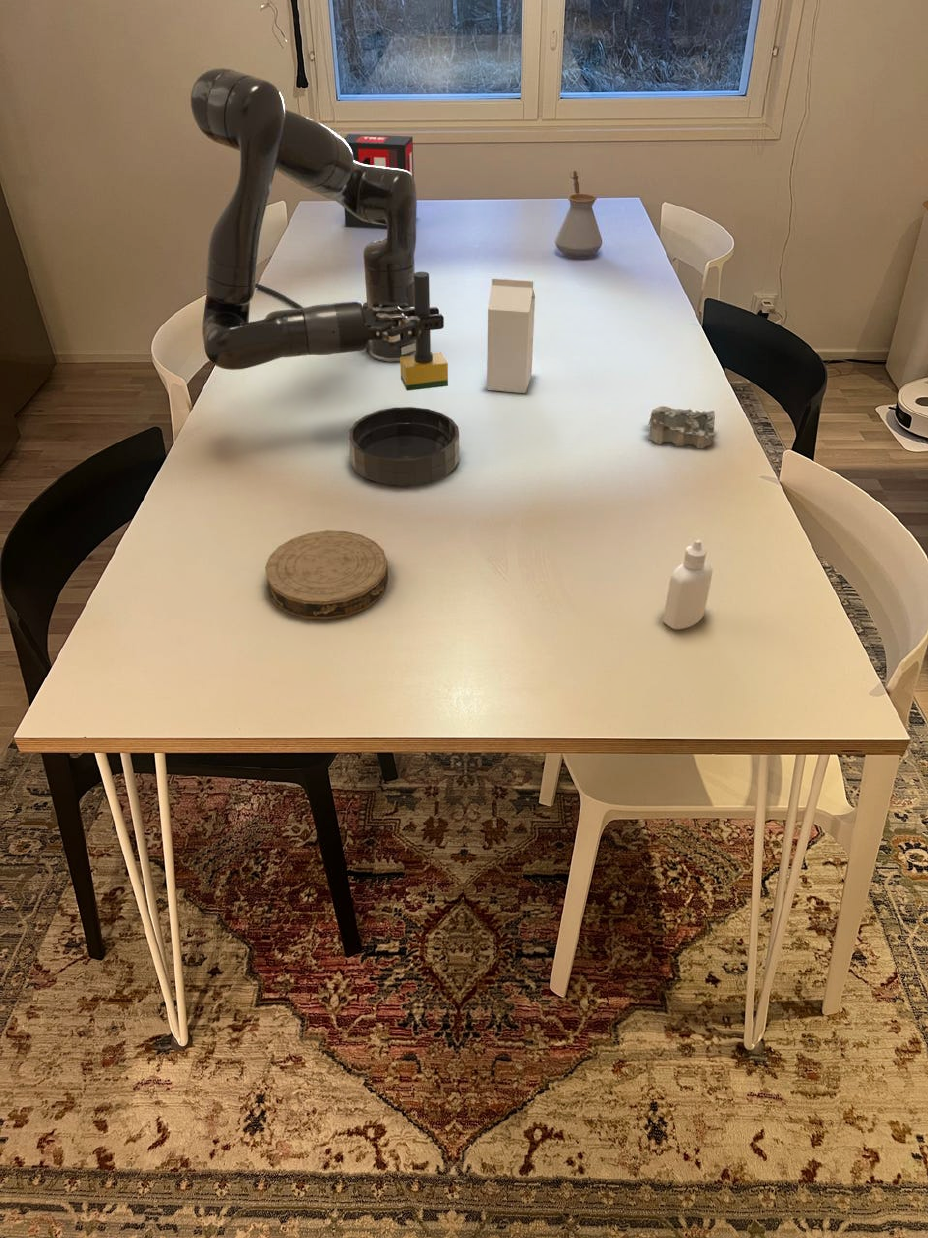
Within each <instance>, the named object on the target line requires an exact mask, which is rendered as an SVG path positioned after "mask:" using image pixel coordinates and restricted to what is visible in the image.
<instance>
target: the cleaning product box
mask: <svg viewBox="0 0 928 1238" xmlns="http://www.w3.org/2000/svg"><path fill="white" fill-rule="evenodd" d="M342 139H343V140H344V141H345V142H346V143H347V144H348V146H349V147H350V149H351V151H352V154H353V158H354V161H355V162H357V163H360V164H363V165H370V166H377V167H385V168H393V169H401V170H405V171H408V172H409V173H410V174H411V175H412V177H413V178H414V179H415V176H414V173H415V172H414V146H413V145H414V144H413V143H414V142H413V141H414V140H413V139H414V138H413V136H409V135H407V136H406V135H383V134H382V135H381V134H361V133H360V134H357V133H348V134H347V135H346V136H345V137H344V138H342ZM343 209H344V220H345V221H344V222H345V223H344V224H345V228H362V229H363V228H364V229H385V230H387V225H381V224H374V223H369V222H365V221H362V220H360V219H358V218H357V217H356V216H354V215H353V214H352V213H350V212H349V211H348V210H347V209H345V208H344V207H343Z"/></svg>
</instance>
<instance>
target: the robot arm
mask: <svg viewBox="0 0 928 1238" xmlns="http://www.w3.org/2000/svg"><path fill="white" fill-rule="evenodd" d="M190 109H191V113H192V117H193V119H194V122H195V123H196V125H197V127H198V128H199V130H200V131H201V132H202V133H203V134H204V135H205V136H206V137H207V138H208V139H209V140H211V141H213V142H214V143H216V144H220V145H223V146H225V147H228V148H231V149H233V150H236V151H239V173H238V179H237V183H236V186H235V189H234V190H233V193H232V194H231V197H230V199H229V200H228V203H226V206H225V207H224V209H223V210H222V211H221V213H220V215H219V216H218V218H217V220H216V222H215V223H214V225H213V227H212V229H211V233H210V236H209V241H208V247H207V261H206V282H205V283H206V296H205V300H204V301H205V302H204V307H203V308H204V309H203V317H202V331H201V333H202V334H201V335H202V341H203V348H204V352H205V355H206V357H207V359H208V360H209V362H211V364H212V365H214V366H215V367H217V368H220V369H223V370H230V371H237V370H239V371H240V370H245V369H249V368H254V367H256V366H260V365H263V364H266V363H270V362H272V361H274V360H278V359H282V358H294V357H303V356H327V355H337V354H346V353H355V352H363V351H365V353H367V354H369V355H370V356H371V357H372V358H373V359H375V360H378V361H382V362H390V363H391V362H397V363H398V362H400V357H403V356H412V355H414V354H415V353H416V339H418V338H419V334H420V333H421V331H426V330H430V331H436V330H442V329H443V328H444V326H445V321H444V320H445V317H444V316H443V315H442V314H441V313H440V310H439V308H438V307H437V306H430V315H425V316H420V317H419V316H415V301H414V273H416V271H415V269H416V267H415V252H416V246H417V245H416V244H417V215H418V214H417V211H418V209H417V208H418V196H417V194H418V193H417V185H416V181H415V177H414V178H413V177H412V175H411V174H410V173H409V172H408V171H405V170H401V169H393V168H385V167H377V166H370V165H363V164H360V163H357V162H355V161H354V158H353V154H352V151H351V149H350V147H349V146H348V144H347V143H346V142H345V141H344V140H343V139H344V138H342V136H340V135H339V134H337V133H336V132H334V131H333V130H331V129H330V128H329V127H326V126H325V125H324V124H321V123H320V122H317V121H315V120H314V119H312V118H309V117H307V116H304V115H303V114H299V113H297V112H294V111H291V110H288V109H286V108H285V103H284V98H283V96H282V94H281V92H280V90H279V89H278V88H277V86H275V84H273V83H271V82H270V81H268V80H265V79H262V78H260V77H255V76H253V75H250V74H247V73H245V72H244V73H243V72H240V71H237V70H234V69H232V68H231V69H230V68H225V67H220V68H219V67H218V68H212V69H209V70H207V71H205V72H204V73H202V74H201V75H200V76H198V78H197V79H196V81H195V82H194V84H193V86H192V89H191V92H190ZM275 171H277V172H279V173H280V174H282V175H283V176H284V177H286V178H288V179H290V180H291V181H292V182H294V183H296V184H297V185H299V186H301V187H303V188H305V189H306V190H309V191H310V192H312V193H315V194H317V195H320V196H322V197H323V198H326V199H329V200H332V201H335V202H336V203H337V204H339V205H340V206H341V207H343V209H344V208H345V209H347V210H348V211H349V212H350V213H352V214H353V215H354V216H356V217H357V218H358V219H360V220H362V221H365V222H369V223H374V224H381V225H387V229H386V230H387V231H386V237H385V238H381V239H377V240H374V241H372V242H370V243H367V244H366V245H365V247H364V248H363V266H364V267H363V268H364V281H365V294H366V297H365V299H366V301H365V302H363V304H362V303H361V302H360V301H358V300H353V301H344V302H343V301H342V302H333V303H322V304H314V305H310V306H307V307H303V306H302V305H300V304H299V303H297V302H296V301H294V300H293V299H291V298H289V297H287V296H286V295H284V294H282V293H280V292H279V291H276V290H274V289H272V288H269V287H267V286H265V285H262V284H259V283H256V278H257V269H258V268H257V267H258V266H257V264H258V255H259V246H260V245H259V243H260V237H261V231H262V226H263V220H264V218H265V212H266V208H267V204H268V200H269V197H270V192H271V188H272V186H273V182H274V181H273V180H274V176H275ZM255 289H258V290H260V291H263V292H264V293H265V292H266V293H268V294H270V295H273V296H274V297H276V298H278V299H280V300H282V301H283V302H285V303H287V304H288V305H290V306H292V307H293V308H292V309H282V310H275V311H271V312H269V313H268V314H266V316H265V317H264V319H260V320H255V321H250V309H251V308H250V307H251V301H252V300H253V298H254V296H255V295H254V294H255Z"/></svg>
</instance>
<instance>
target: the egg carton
mask: <svg viewBox="0 0 928 1238" xmlns="http://www.w3.org/2000/svg"><path fill="white" fill-rule="evenodd" d="M715 420H716V413H715V410H711V411H702V412H701V411H698V410H696V411H693V410H692V409H691V408H690V409H680V408H679V409H678V408H675V409H674V408H671V407H668V406H659V407H656V408H654V409H653V410H651V413H650V417H649V420H648V424H647V425H648V426H649V428H648V429H649V432H648V439H647V440H649V441H652V442H654V444H656V445H657V444H658V445H661V444H663V443H673V444H674V445H675V446H677V447H678V446H680V447H681V446H682V447H683V446H684V445H694V446H695V447H696V448H697V449H704V448H705V447H709V446H711V445H712V440H713V436H714V435H715V423H716V422H715Z"/></svg>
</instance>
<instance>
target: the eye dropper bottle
mask: <svg viewBox="0 0 928 1238" xmlns="http://www.w3.org/2000/svg"><path fill="white" fill-rule="evenodd" d="M706 558H707V549H706V548H704V546H702V540H701V539H698V538H697V539H694V542H693V544H692V545H689V546H687V547H686V548H685V552H684V557H683V562H682V563H681V564H679V565H678V566H677V567H676V568H675V569H674V571H673V572H672V573H671V576H670V579H669V584H668V590H667V594H666V601H665V606H664V612H663V617H662V620H663V623H664V624H666V625H667V626H668V627H670V628H671V629H672V630H675V631H676V630H684V629H688V628H690V627H693V626H694V625H696V624H698V623H699V622H700V621H701V619H702V618H703V617H704V615H705V611H706V608H707V607H706V606H707V602H708V597H709V592H710V587H711V583H712V577H713V567H712V566H711V565H710V564H709V563H708V562H707V561H706Z"/></svg>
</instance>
